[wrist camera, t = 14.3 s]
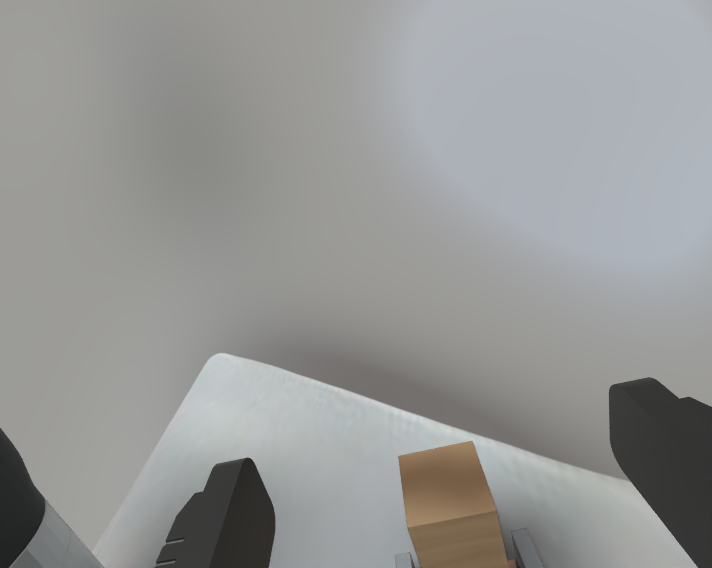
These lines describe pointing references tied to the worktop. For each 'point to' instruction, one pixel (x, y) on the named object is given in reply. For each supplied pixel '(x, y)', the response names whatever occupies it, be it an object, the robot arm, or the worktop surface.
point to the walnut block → (451, 509)
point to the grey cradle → (524, 554)
